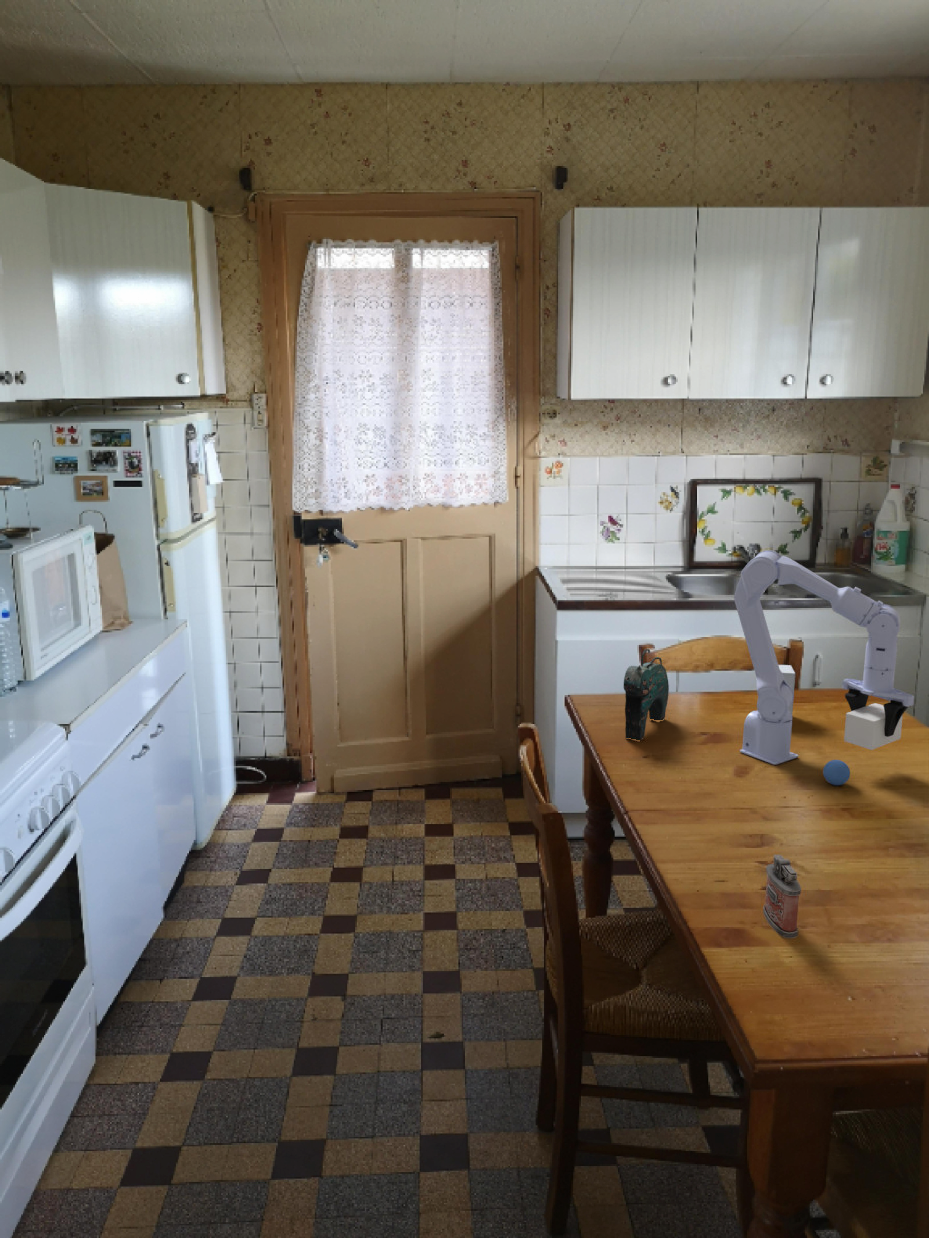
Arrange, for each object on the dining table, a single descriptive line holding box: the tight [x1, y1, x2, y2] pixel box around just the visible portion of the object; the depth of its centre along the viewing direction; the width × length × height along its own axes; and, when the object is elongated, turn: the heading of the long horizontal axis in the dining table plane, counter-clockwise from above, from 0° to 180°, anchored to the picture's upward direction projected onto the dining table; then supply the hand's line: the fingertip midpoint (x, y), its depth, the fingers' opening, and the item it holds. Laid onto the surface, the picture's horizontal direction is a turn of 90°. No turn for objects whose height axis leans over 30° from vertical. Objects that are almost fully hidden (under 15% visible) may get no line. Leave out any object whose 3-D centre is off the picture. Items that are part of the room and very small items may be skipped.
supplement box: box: [756, 664, 796, 715], centre depth 226 cm, size 7×7×13 cm
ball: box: [822, 759, 851, 786], centre depth 189 cm, size 5×5×5 cm
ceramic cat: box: [623, 648, 670, 741], centre depth 219 cm, size 20×6×20 cm, turn 148°
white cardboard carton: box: [843, 702, 904, 751], centre depth 193 cm, size 10×6×6 cm, turn 124°
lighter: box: [762, 854, 802, 939], centre depth 139 cm, size 8×3×10 cm, turn 5°
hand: (873, 730), depth 194 cm, fingers closed on white cardboard carton, 6 cm apart
